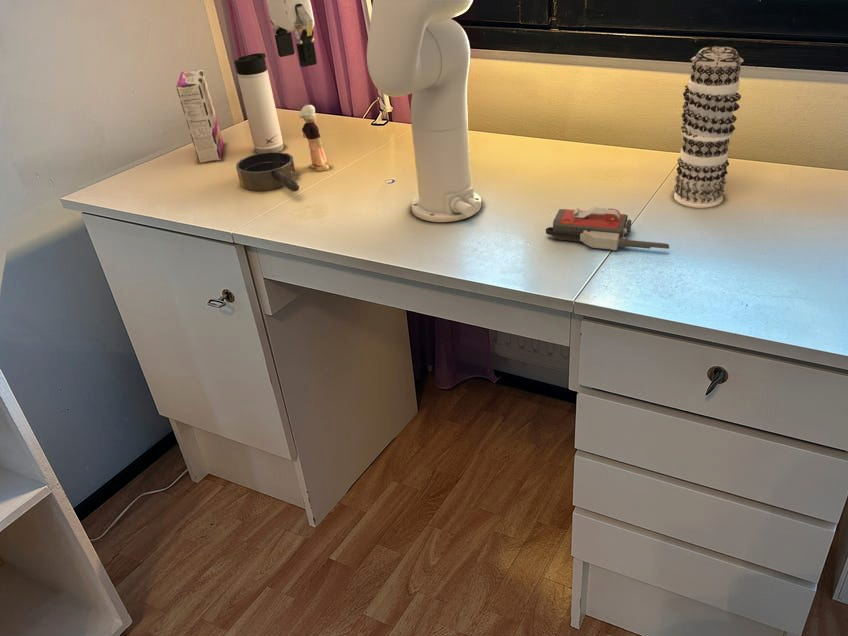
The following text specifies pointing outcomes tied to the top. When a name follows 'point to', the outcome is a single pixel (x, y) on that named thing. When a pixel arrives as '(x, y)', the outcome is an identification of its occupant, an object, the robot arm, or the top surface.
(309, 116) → the grandmother figurine
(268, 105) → the travel mug
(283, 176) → the pan handle
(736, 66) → the white patterned cylinder
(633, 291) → the top surface
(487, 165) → the top surface
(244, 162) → the pan
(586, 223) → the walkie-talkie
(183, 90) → the candy bar box
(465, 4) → the robot arm
